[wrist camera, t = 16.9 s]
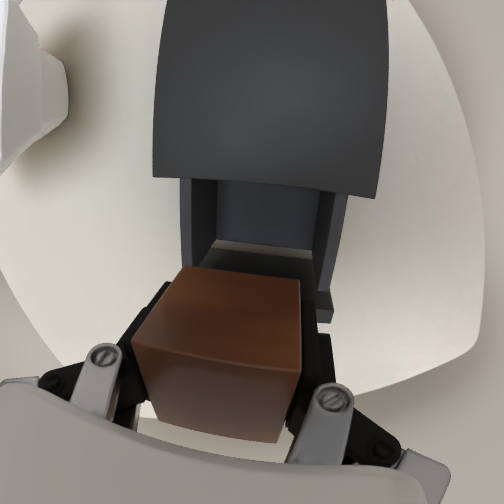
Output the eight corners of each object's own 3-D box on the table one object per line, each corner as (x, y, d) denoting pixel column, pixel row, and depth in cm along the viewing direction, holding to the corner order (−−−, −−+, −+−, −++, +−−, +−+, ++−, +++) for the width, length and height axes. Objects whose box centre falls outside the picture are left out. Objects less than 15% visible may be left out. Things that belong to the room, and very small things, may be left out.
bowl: (120, 142, 23) (9, 166, 11) (26, 191, 27) (-48, 227, 15) (102, 4, 16) (17, -25, 4) (11, 80, 20) (-60, 88, 7)
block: (300, 278, 10) (302, 371, 6) (283, 360, 12) (276, 444, 8) (183, 264, 11) (129, 340, 7) (190, 346, 13) (157, 421, 8)
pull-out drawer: (311, 318, 28) (314, 373, 21) (205, 304, 29) (181, 354, 22) (344, 126, 20) (370, 122, 13) (207, 114, 21) (169, 106, 14)
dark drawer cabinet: (343, 173, 22) (375, 199, 13) (201, 160, 23) (152, 177, 15) (353, 25, 16) (383, -24, 7) (213, 15, 17) (174, -32, 8)
